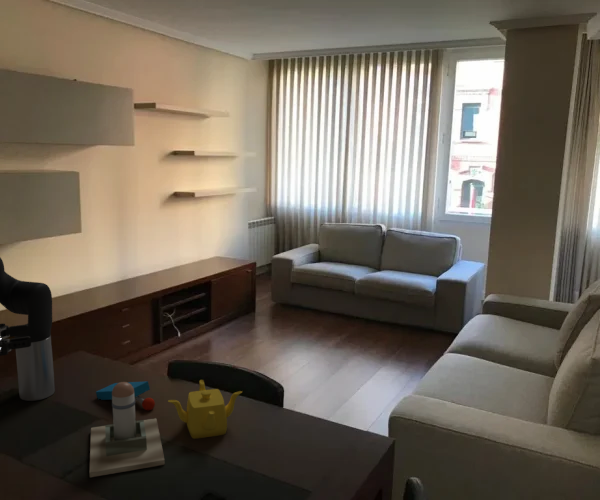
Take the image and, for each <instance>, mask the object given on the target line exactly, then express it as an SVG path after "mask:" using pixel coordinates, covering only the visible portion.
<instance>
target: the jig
mask: <svg viewBox="0 0 600 500" xmlns="http://www.w3.org/2000/svg"><path fill="white" fill-rule="evenodd" d="M135 421H136V438H129V439H123V440H116V441H114V424H106V425H101V426H93V427H90V444H89V445H90V447H89V451H90V453H89V478H95V477H101V476H107V475H112V474H119V473H123V472H124V473H125V472H130V471H135V470H140V469H146V468H153V467H158V466H164V465H165V464H166V463H165V455H164V450H163V446H162V445H163V443H162V441H161V440H162V439H161V434H160V430H159V423H158V419H157V418H156V417H155V418H148V419H141V420H140V419H139V420H135Z"/></svg>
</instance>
